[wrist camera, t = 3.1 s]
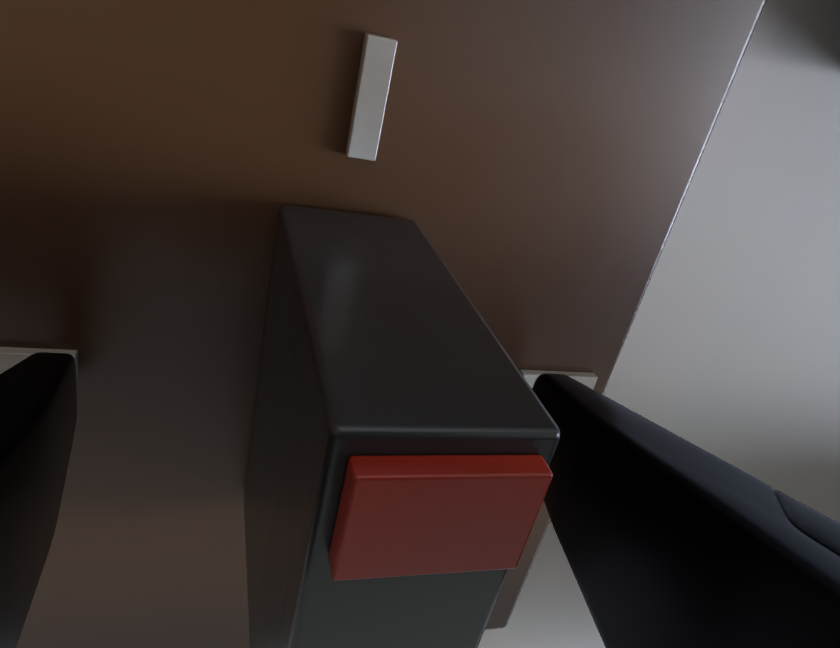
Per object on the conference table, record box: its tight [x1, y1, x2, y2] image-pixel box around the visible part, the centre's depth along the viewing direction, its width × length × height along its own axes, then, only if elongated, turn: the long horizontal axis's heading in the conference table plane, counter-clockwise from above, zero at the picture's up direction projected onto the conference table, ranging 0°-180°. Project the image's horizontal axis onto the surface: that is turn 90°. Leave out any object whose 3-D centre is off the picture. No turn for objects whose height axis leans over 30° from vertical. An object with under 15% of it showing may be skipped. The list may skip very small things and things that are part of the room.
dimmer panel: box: [0, 0, 766, 648], centre depth 11 cm, size 13×10×3 cm
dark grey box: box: [244, 205, 560, 648], centre depth 7 cm, size 5×2×5 cm, turn 167°
